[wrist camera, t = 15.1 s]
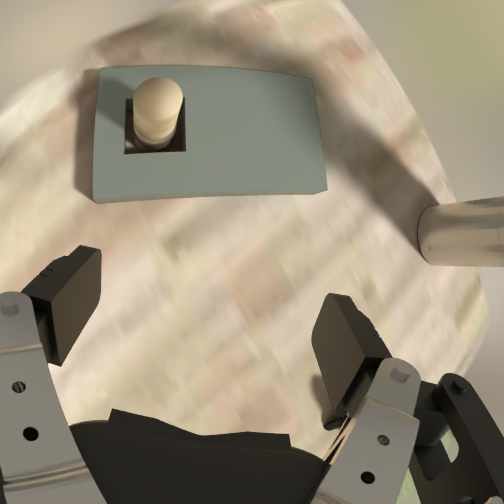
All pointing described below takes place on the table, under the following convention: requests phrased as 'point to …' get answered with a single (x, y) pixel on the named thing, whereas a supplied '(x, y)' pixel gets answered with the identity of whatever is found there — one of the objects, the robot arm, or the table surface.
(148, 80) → the peg
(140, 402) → the table surface
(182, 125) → the board
